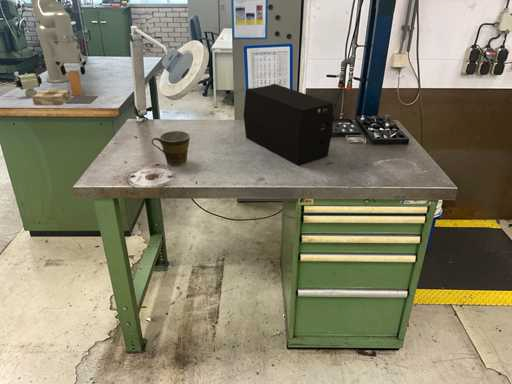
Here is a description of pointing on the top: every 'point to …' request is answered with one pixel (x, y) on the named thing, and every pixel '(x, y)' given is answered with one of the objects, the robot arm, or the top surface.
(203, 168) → the top surface
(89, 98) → the rubber pad
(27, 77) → the pneumatic valve
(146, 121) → the top surface
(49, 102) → the socket block
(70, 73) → the peg
